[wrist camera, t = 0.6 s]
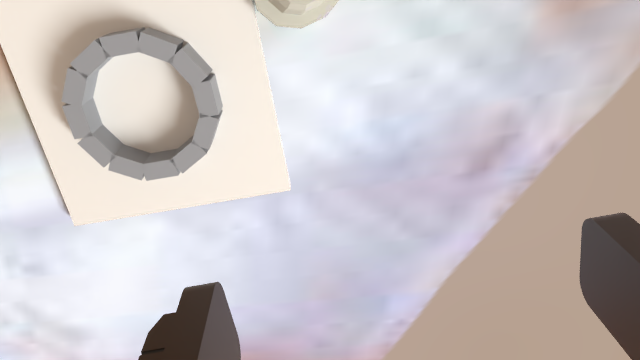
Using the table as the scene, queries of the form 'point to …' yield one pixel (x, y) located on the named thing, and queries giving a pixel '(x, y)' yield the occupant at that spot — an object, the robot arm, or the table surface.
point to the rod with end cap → (294, 11)
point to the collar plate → (146, 102)
